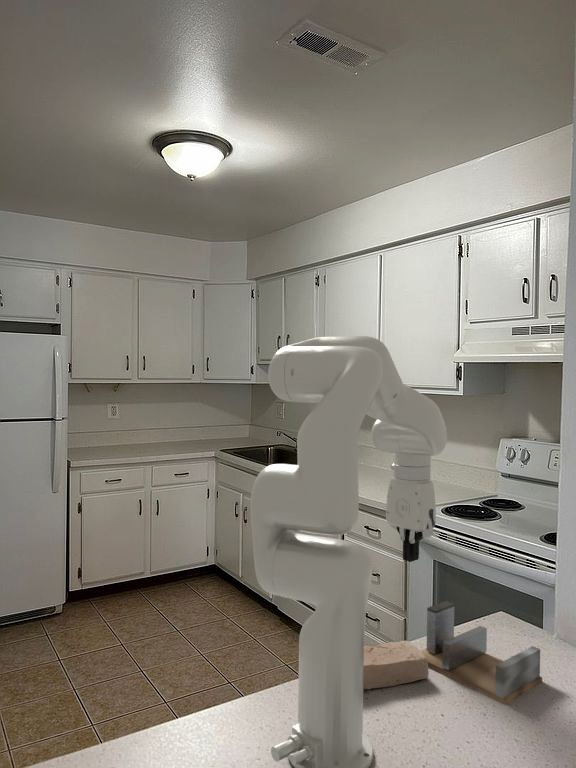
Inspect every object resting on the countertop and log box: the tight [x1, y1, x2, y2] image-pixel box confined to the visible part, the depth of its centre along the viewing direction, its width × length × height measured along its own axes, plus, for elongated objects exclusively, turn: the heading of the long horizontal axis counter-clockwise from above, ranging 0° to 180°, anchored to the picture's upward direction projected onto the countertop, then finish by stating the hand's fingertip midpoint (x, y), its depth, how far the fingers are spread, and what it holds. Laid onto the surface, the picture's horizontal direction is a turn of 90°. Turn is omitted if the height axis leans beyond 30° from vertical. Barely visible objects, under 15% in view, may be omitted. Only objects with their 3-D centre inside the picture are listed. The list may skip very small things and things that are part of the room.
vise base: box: [421, 645, 543, 706], centre depth 112 cm, size 12×20×6 cm, turn 39°
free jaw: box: [426, 600, 488, 670], centre depth 116 cm, size 12×8×8 cm, turn 129°
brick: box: [363, 640, 430, 691], centre depth 109 cm, size 16×8×5 cm, turn 107°
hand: (410, 559), depth 125 cm, fingers closed
